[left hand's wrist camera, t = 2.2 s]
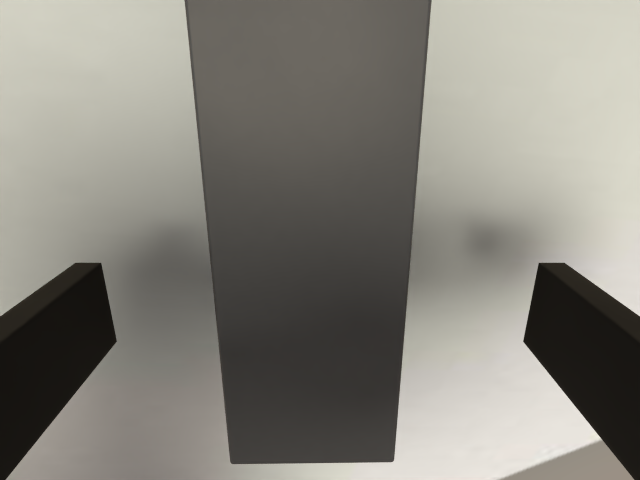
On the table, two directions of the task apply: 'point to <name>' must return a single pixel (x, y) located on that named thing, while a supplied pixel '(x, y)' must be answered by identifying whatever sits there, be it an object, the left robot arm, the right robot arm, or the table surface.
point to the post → (309, 215)
